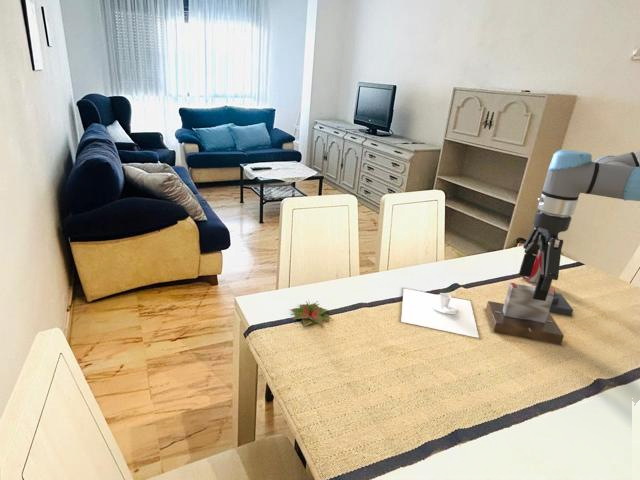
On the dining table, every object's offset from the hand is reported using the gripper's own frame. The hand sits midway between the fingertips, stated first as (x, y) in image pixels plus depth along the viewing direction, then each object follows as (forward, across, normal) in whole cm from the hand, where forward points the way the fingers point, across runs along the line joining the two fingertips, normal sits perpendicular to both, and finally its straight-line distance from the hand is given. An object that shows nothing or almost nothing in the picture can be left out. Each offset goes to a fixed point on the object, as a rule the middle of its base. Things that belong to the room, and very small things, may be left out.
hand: (531, 287), depth 104 cm
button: (+9, -16, +10) cm, 21 cm away
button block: (+12, -16, +10) cm, 23 cm away
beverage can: (+13, -33, +11) cm, 37 cm away
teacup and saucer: (+13, 0, -22) cm, 25 cm away
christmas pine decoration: (+13, +16, -57) cm, 60 cm away
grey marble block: (+9, 0, 0) cm, 9 cm away
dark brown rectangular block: (+12, 0, 0) cm, 12 cm away
